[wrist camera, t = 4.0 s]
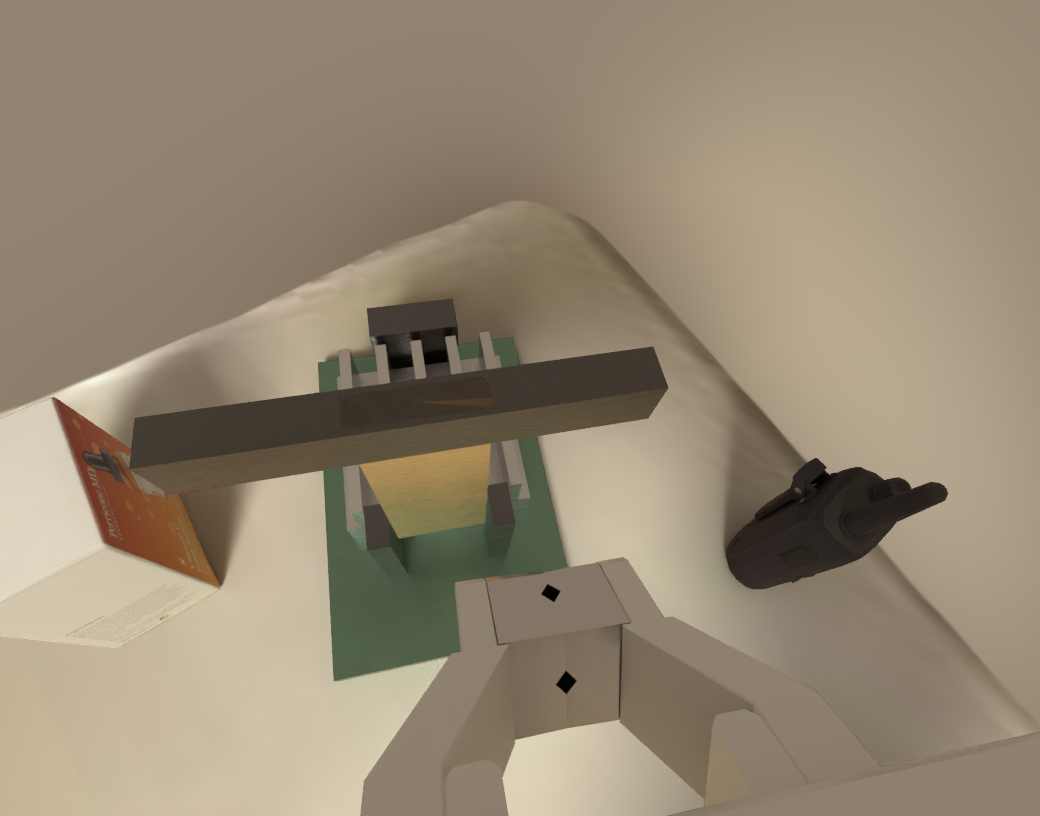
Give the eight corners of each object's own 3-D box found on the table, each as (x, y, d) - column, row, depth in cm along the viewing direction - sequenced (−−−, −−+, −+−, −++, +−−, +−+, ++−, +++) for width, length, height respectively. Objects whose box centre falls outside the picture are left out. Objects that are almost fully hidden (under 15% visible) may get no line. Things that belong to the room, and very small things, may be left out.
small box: (223, 590, 30) (109, 548, 20) (117, 651, 28) (-62, 637, 19) (174, 474, 33) (53, 390, 23) (74, 523, 31) (-101, 455, 21)
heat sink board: (577, 628, 30) (609, 612, 23) (339, 681, 28) (292, 681, 21) (511, 347, 38) (520, 269, 31) (322, 371, 36) (284, 294, 29)
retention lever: (588, 507, 26) (668, 387, 15) (284, 564, 24) (128, 469, 13) (580, 480, 27) (653, 346, 16) (283, 532, 24) (134, 417, 14)
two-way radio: (750, 604, 32) (952, 550, 18) (695, 544, 33) (846, 452, 20) (806, 546, 34) (1027, 458, 20) (752, 491, 35) (925, 374, 22)
